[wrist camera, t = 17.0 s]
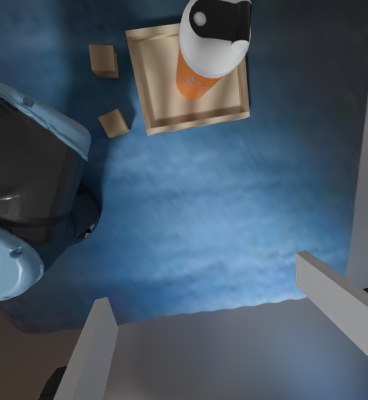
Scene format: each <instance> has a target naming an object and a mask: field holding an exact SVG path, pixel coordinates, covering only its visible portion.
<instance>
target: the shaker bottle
mask: <svg viewBox="0 0 368 400" xmlns="http://www.w3.org/2000/svg"><path fill="white" fill-rule="evenodd" d="M251 7H252V4H251V1H250V0H190V2H189V3H188V5H187V6H186V8H185V10H184V13H183V16H182V20H181V24H180V29H179V53H178V62H177V71H176V85H177V88H178V90H179V92H180V93H181V94H182V95H183V96H185V97H186V98H189V99H197V98H200V97H201V96H203V95H204V94H205V93H206V92H207V91H208V90H209V89H210V88H212V87H213V86H214V85H215V84H216V83H217V82H218V81H219V80H220V79H221V78H222V77H224V76H226V75H228V74H229V73H231V72H232V71H233V70H234V69H235V68H236V66H237V65H238V64H239V63H240V62H241V61H242V59H243V58H244V56H245V54H246V52H247V50H248V47H249V44H250V37H251V27H250V22H251Z"/></svg>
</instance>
